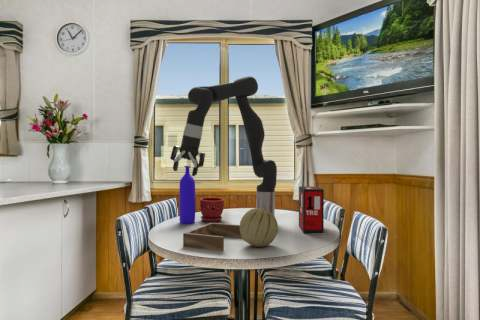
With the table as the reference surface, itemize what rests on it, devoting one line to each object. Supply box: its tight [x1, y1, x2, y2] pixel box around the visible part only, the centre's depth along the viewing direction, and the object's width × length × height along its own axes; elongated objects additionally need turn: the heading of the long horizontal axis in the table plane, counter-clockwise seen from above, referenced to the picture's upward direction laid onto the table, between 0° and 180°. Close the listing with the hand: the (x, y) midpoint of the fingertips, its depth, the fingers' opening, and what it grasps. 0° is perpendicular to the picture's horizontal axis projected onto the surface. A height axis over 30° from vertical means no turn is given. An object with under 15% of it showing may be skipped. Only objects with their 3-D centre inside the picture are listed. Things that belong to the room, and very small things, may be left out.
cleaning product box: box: [298, 186, 325, 235], centre depth 158 cm, size 16×9×20 cm, turn 178°
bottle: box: [178, 165, 196, 225], centre depth 175 cm, size 8×8×30 cm
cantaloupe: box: [239, 207, 279, 248], centre depth 128 cm, size 15×15×15 cm
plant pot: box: [199, 197, 225, 223], centre depth 182 cm, size 13×13×12 cm
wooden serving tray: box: [182, 222, 242, 252], centre depth 135 cm, size 23×17×5 cm
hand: (184, 173), depth 139 cm, fingers open, 8 cm apart
